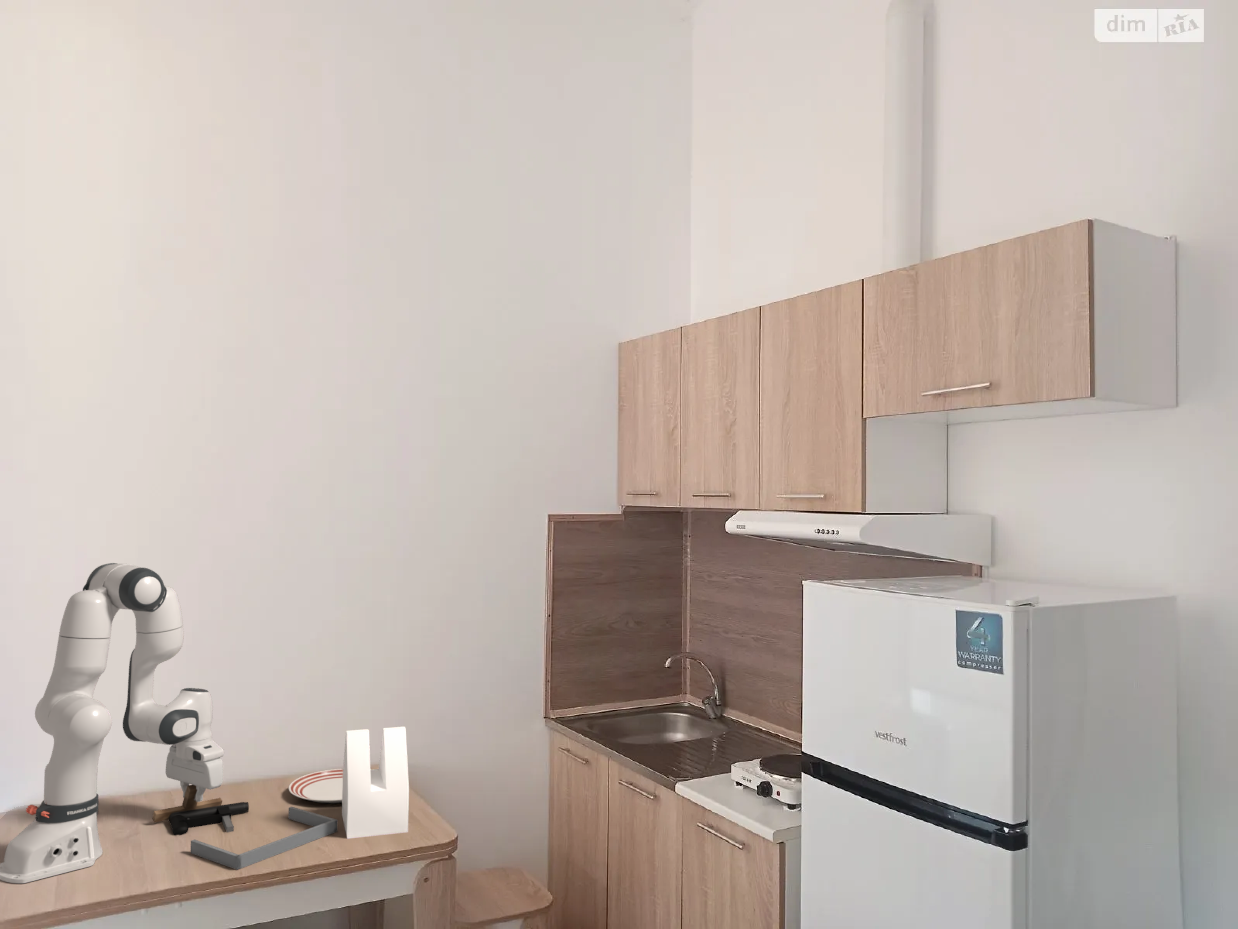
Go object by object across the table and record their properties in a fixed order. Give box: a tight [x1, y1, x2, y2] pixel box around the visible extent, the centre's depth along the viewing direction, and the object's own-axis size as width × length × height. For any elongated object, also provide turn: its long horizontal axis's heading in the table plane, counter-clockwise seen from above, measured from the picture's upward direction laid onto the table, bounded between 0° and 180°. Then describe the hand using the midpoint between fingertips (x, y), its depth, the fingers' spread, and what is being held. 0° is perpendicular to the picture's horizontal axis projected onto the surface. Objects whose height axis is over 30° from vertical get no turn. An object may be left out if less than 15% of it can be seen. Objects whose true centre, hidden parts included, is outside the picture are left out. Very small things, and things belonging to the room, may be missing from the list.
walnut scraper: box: [151, 784, 223, 824], centre depth 256 cm, size 18×2×8 cm, turn 139°
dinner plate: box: [288, 768, 343, 804], centre depth 278 cm, size 28×27×3 cm
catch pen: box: [190, 806, 339, 870], centre depth 239 cm, size 30×18×3 cm, turn 148°
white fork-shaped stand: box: [341, 726, 410, 840], centre depth 255 cm, size 19×15×25 cm
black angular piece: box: [168, 801, 250, 836], centre depth 251 cm, size 3×20×16 cm
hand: (192, 799), depth 256 cm, fingers closed on walnut scraper, 3 cm apart
